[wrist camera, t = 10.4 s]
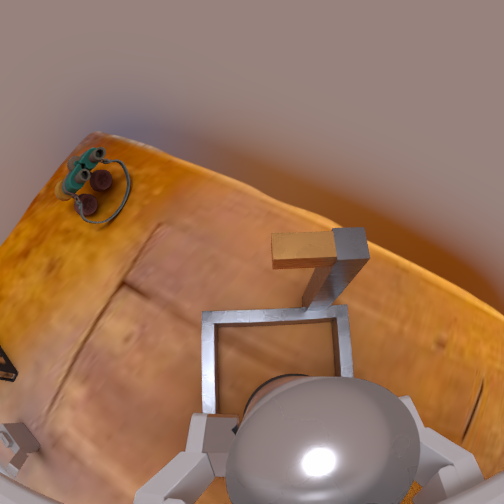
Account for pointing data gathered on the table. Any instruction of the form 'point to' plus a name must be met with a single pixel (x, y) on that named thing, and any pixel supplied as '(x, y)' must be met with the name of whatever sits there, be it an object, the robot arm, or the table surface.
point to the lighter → (18, 444)
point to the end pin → (323, 444)
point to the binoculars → (81, 174)
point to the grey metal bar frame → (313, 301)
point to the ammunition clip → (6, 368)
